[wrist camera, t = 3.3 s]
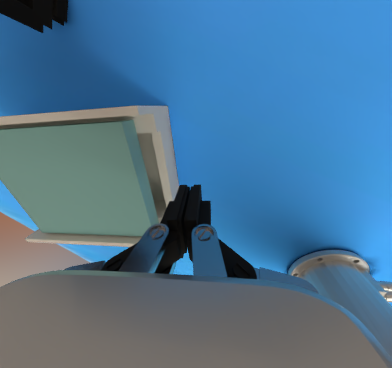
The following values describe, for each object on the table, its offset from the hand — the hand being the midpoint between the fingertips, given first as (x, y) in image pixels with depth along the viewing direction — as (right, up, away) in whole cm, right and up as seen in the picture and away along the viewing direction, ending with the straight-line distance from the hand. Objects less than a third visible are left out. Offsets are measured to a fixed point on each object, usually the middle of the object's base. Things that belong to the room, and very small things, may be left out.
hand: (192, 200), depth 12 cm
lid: (-13, +1, +6) cm, 14 cm away
